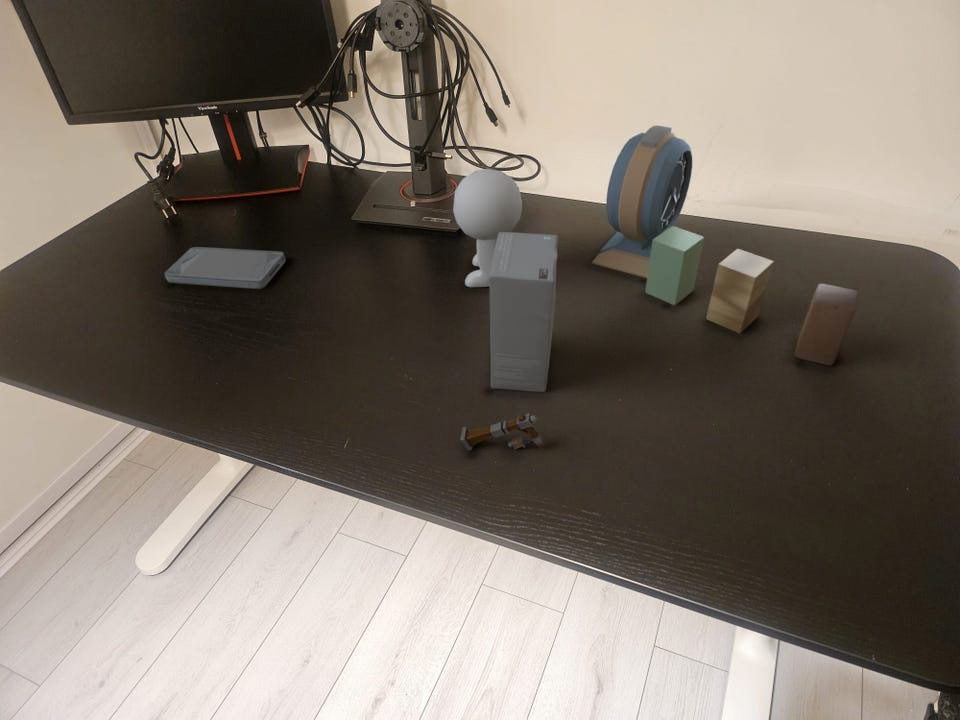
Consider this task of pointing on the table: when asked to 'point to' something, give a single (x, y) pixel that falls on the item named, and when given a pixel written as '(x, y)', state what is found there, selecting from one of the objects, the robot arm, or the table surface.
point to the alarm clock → (644, 197)
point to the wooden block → (826, 324)
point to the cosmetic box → (522, 310)
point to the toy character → (486, 215)
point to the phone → (226, 267)
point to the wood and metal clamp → (501, 428)
